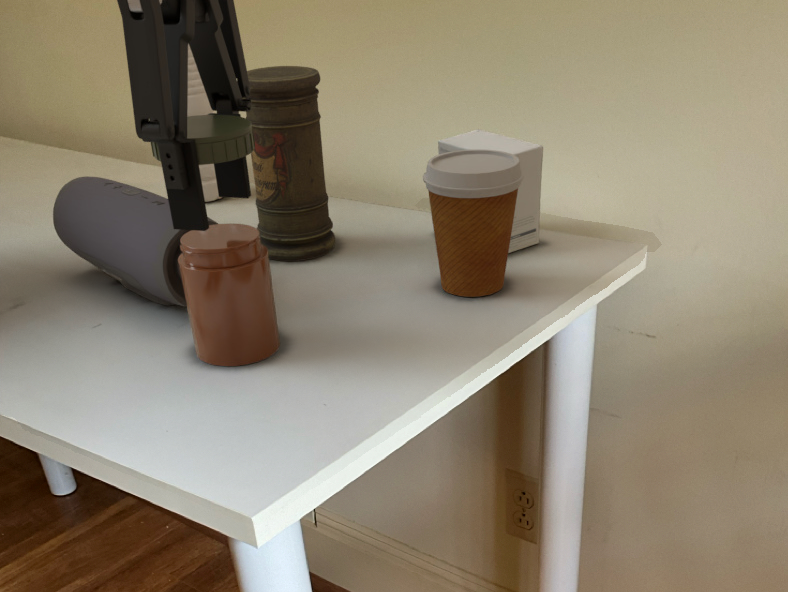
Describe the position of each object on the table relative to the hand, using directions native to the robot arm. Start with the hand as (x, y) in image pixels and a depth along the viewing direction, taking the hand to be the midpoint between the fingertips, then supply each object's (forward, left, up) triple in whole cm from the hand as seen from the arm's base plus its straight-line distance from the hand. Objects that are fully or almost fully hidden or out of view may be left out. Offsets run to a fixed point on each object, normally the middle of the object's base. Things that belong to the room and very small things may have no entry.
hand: (214, 211), depth 73 cm
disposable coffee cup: (+18, +18, -12) cm, 28 cm away
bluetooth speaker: (-14, +11, -12) cm, 22 cm away
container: (-4, +26, -12) cm, 29 cm away
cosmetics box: (+17, +32, -12) cm, 38 cm away
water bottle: (-23, +44, -12) cm, 51 cm away
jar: (0, 0, -12) cm, 12 cm away
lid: (0, 0, +6) cm, 6 cm away
